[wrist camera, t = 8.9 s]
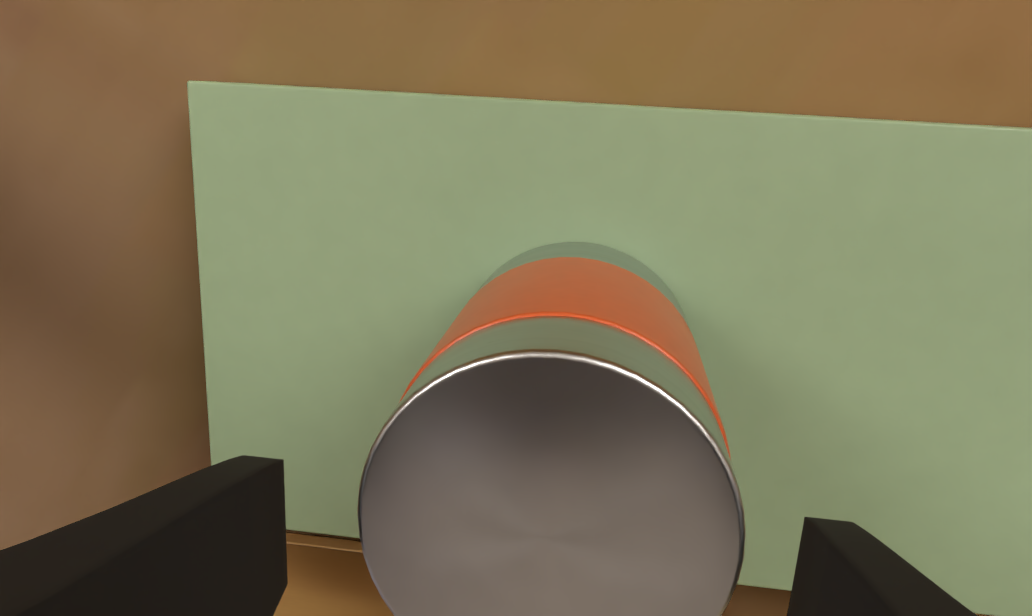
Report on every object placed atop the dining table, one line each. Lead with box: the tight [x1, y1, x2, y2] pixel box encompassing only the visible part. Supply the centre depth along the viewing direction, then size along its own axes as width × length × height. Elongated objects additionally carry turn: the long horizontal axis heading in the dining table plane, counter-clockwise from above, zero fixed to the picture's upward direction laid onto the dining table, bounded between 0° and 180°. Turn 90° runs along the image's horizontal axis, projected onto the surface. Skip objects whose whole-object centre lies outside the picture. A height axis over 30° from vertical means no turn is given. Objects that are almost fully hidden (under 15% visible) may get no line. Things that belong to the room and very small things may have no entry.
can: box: [357, 242, 746, 616], centre depth 14 cm, size 5×5×8 cm
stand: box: [187, 81, 1032, 616], centre depth 18 cm, size 20×11×2 cm, turn 87°
